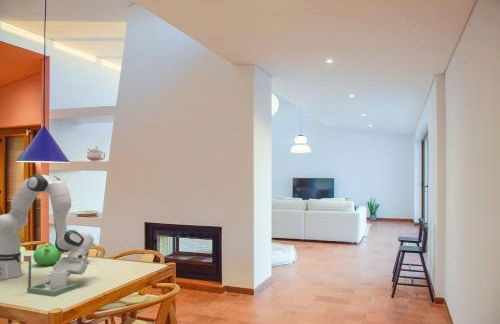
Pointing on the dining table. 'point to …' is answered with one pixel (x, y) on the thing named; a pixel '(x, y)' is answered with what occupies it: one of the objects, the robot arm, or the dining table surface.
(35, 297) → the dining table surface
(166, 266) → the dining table surface
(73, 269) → the robot arm
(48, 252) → the green teapot
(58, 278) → the cup
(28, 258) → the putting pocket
